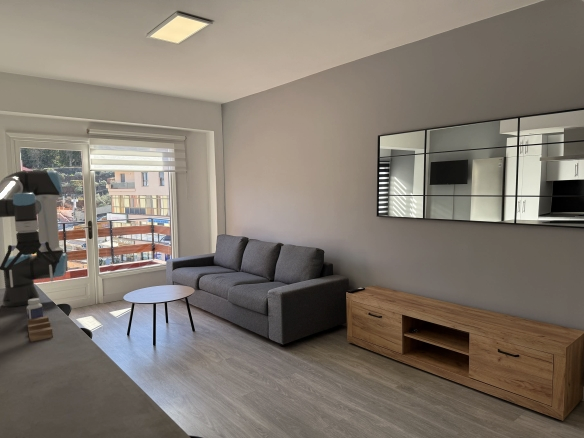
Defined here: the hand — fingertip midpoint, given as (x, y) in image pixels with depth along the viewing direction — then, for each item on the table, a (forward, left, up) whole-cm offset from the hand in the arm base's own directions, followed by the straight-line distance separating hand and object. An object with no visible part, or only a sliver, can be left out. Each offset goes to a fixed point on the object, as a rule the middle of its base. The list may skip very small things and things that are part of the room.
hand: (32, 283), depth 164 cm
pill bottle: (0, 0, -16) cm, 16 cm away
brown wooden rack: (+14, +3, -16) cm, 21 cm away
